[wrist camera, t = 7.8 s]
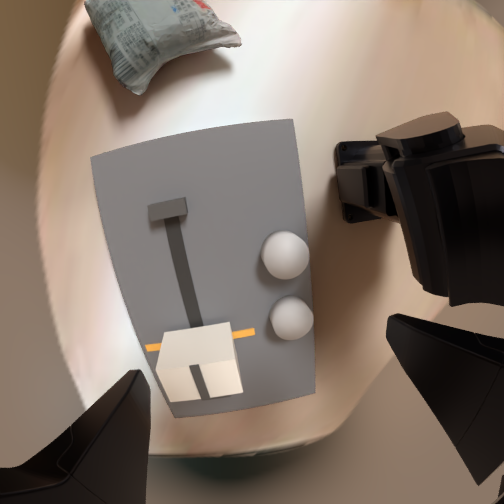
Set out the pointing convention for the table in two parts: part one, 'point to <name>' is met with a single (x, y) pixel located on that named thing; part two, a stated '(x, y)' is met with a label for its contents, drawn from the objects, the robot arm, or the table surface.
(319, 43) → the table surface
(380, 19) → the table surface
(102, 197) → the console
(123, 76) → the packaged food
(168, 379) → the block
